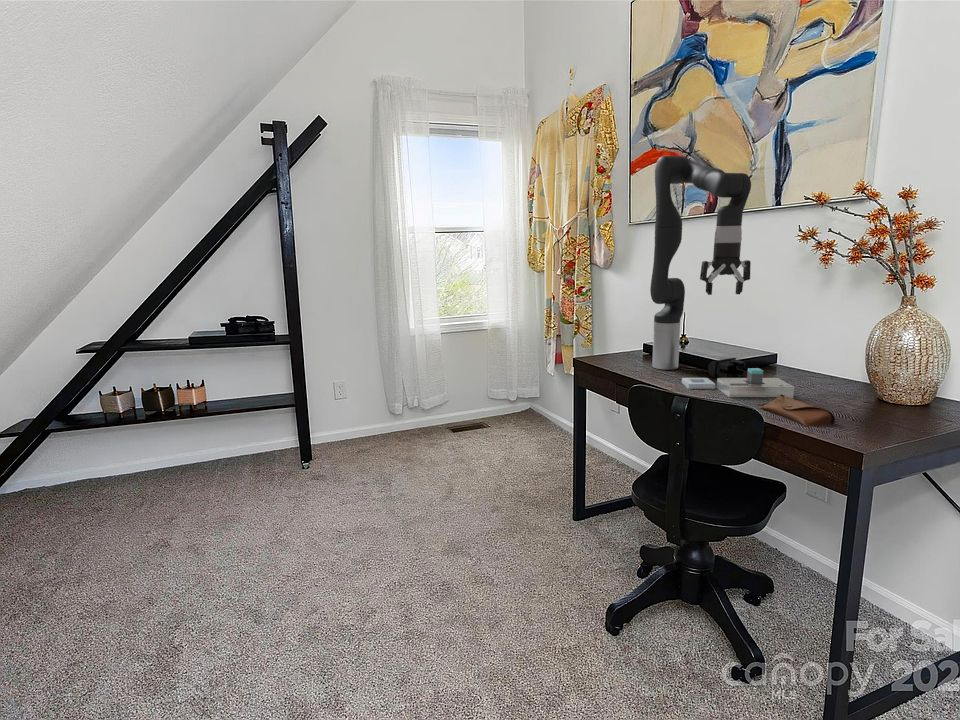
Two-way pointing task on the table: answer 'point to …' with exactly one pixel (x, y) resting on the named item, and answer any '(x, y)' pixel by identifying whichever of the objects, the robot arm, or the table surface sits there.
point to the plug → (754, 376)
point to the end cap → (726, 368)
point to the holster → (698, 383)
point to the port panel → (755, 388)
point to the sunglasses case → (799, 411)
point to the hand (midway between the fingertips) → (723, 294)
